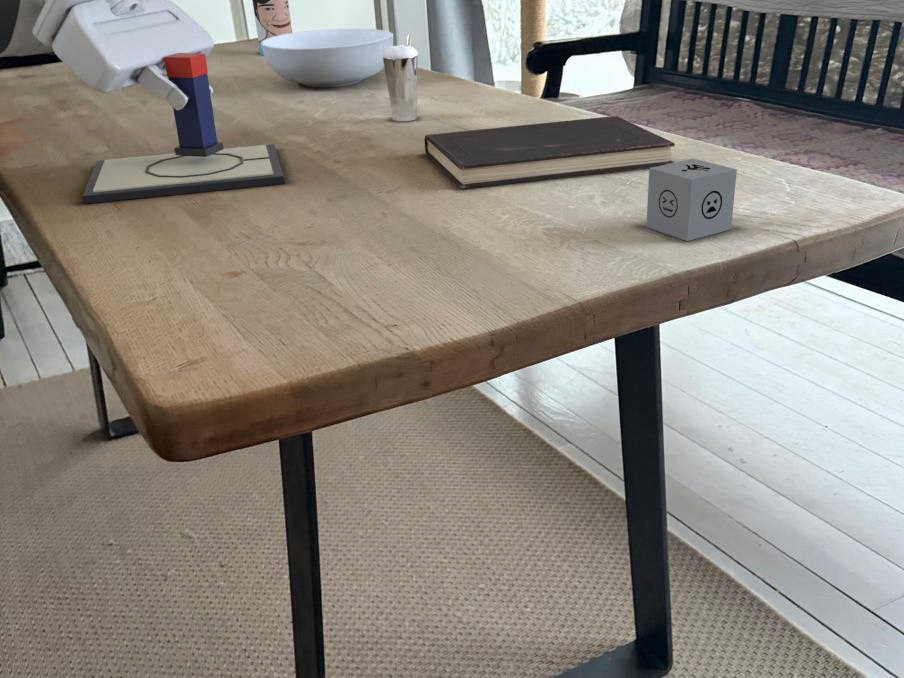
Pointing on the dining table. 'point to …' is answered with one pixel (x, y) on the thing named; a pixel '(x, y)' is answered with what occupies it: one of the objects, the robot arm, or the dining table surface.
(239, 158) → the beige flat board
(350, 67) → the serving bowl
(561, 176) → the hardcover book
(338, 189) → the dining table surface
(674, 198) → the dice cube
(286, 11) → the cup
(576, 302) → the dining table surface
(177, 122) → the blue and red block
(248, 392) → the dining table surface
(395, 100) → the milkshake
